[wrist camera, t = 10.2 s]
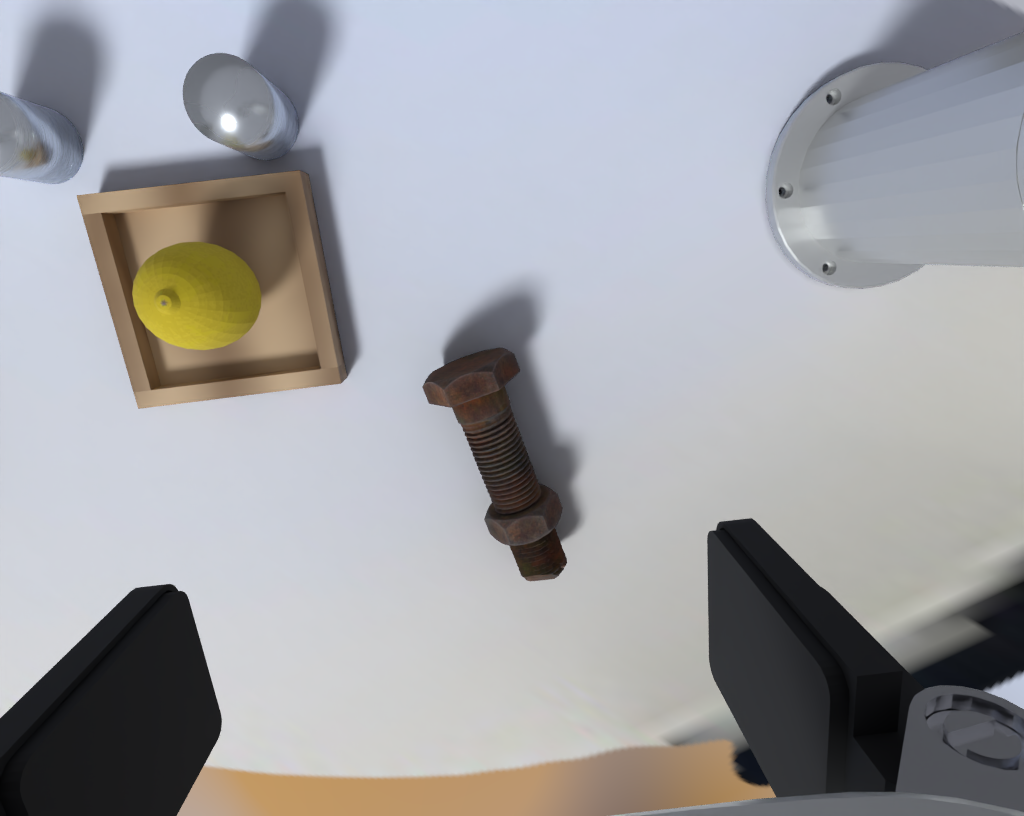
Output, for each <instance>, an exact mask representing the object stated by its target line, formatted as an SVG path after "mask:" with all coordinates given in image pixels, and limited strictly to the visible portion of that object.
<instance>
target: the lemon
mask: <svg viewBox="0 0 1024 816" xmlns="http://www.w3.org/2000/svg"><path fill="white" fill-rule="evenodd" d="M132 295H133V302H134V307H135V309H136V311H137V314H138V316H139V318H140V319H141V321H142V322H143V324H144V325H145V326H146V328H148V329H149V330H150V331H151V332H152V333H153V334H154V335H155V336H157V337H158V338H160V339H162V340H164V341H165V342H167V343H169V344H172V345H175V346H178V347H182V348H185V349H195V350H210V349H215V348H220V347H224V346H227V345H229V344H231V343H233V342H235V341H237V340H239V339H240V338H241V337H242V336H244V335H245V334H246V333H247V332H248V331H249V330H250V329H251V328H252V326H253V325H254V323H255V322H256V320H257V318H258V315H259V312H260V308H261V291H260V286H259V282H258V280H257V278H256V276H255V274H254V272H253V271H252V270H251V268H250V267H249V266H248V265H247V264H246V262H245V261H244V260H242V259H241V258H240V257H238V256H237V255H236V254H235V253H233V252H231V251H229V250H227V249H225V248H223V247H221V246H218V245H214V244H209V243H204V242H182V243H178V244H174V245H171V246H168V247H165V248H163V249H161V250H159V251H158V252H156V253H155V254H153V255H152V256H151V257H149V258H148V259H147V260H146V261H145V262H144V263H143V265H142V266H141V267H140V268H139V270H138V272H137V275H136V277H135V279H134V282H133V291H132Z"/></svg>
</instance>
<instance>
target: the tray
mask: <svg viewBox="0 0 1024 816" xmlns="http://www.w3.org/2000/svg"><path fill="white" fill-rule="evenodd" d="M77 199H78V202H79V206H80V209H81V213H82V216H83V219H84V223H85V226H86V230H87V233H88V237H89V240H90V244H91V247H92V250H93V254H94V257H95V261H96V264H97V268H98V271H99V275H100V278H101V281H102V285H103V288H104V292H105V295H106V299H107V302H108V306H109V309H110V313H111V316H112V319H113V323H114V326H115V330H116V333H117V337H118V340H119V344H120V347H121V350H122V354H123V357H124V361H125V364H126V368H127V371H128V375H129V378H130V381H131V385H132V388H133V392H134V395H135V399H136V402H137V406H138V409H140V408H148V407H156V406H164V405H172V404H180V403H188V402H196V401H204V400H212V399H220V398H228V397H236V396H244V395H252V394H260V393H268V392H276V391H284V390H292V389H300V388H308V387H317V386H325V385H333V384H341V383H342V382H343V381H344V380H345V379H346V378H347V373H346V368H345V363H344V357H343V352H342V347H341V342H340V337H339V331H338V326H337V321H336V316H335V310H334V305H333V300H332V295H331V290H330V284H329V279H328V274H327V269H326V263H325V258H324V253H323V248H322V243H321V237H320V232H319V227H318V222H317V216H316V211H315V206H314V201H313V196H312V190H311V185H310V180H309V175H308V174H307V173H304V172H302V171H300V170H297V171H288V172H280V173H271V174H262V175H253V176H244V177H235V178H227V179H218V180H209V181H200V182H191V183H183V184H174V185H165V186H156V187H147V188H138V189H130V190H121V191H112V192H103V193H94V194H85V195H77ZM182 242H204V243H209V244H214V245H218V246H221V247H223V248H225V249H227V250H229V251H231V252H233V253H235V254H236V255H237V256H238V257H240V258H241V259H242V260H244V261H245V262H246V264H247V265H248V266H249V267H250V268H251V270H252V271H253V272H254V274H255V276H256V278H257V280H258V282H259V286H260V291H261V308H260V312H259V315H258V318H257V320H256V322H255V323H254V325H253V326H252V328H251V329H250V330H249V331H248V332H247V333H246V334H245V335H244V336H242V337H241V338H240V339H239V340H237V341H235V342H233V343H231V344H229V345H227V346H224V347H220V348H215V349H210V350H195V349H185V348H182V347H178V346H175V345H172V344H169V343H167V342H165V341H164V340H162V339H160V338H158V337H157V336H155V335H154V334H153V333H152V332H151V331H150V330H149V329H148V328H146V326H145V325H144V324H143V322H142V321H141V319H140V318H139V316H138V314H137V311H136V309H135V307H134V302H133V295H132V291H133V282H134V279H135V277H136V275H137V272H138V270H139V268H140V267H141V266H142V265H143V263H144V262H145V261H146V260H147V259H148V258H149V257H151V256H152V255H153V254H155V253H156V252H158V251H159V250H161V249H163V248H165V247H168V246H171V245H174V244H178V243H182Z"/></svg>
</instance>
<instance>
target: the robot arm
mask: <svg viewBox="0 0 1024 816" xmlns="http://www.w3.org/2000/svg"><path fill="white" fill-rule="evenodd" d="M826 97H827V98H828V102H827V100H826ZM779 188H780V189H781V190H782V194H781V195H780V196H779V192H778V191H779ZM765 200H766V207H767V214H768V220H769V223H770V226H771V229H772V232H773V235H774V238H775V239H776V241H777V243H778V245H779V246H780V248H781V250H782V251H783V253H784V255H785V256H786V257H787V258H788V259H789V260H790V261H791V262H792V263H793V264H794V266H795V267H796V268H798V269H799V270H801V271H802V272H803V273H805V274H806V275H808V276H809V277H811V278H813V279H815V280H818V281H820V282H822V283H825V284H827V285H833V286H838V287H843V288H859V289H864V288H872V287H880V286H883V285H887V284H890V283H893V282H896V281H899V280H901V279H903V278H905V277H907V276H909V275H910V274H912V273H914V272H916V271H918V270H919V269H920V268H922V267H923V266H924V265H962V266H998V267H1024V32H1022V33H1019V34H1017V35H1014V36H1012V37H1009V38H1007V39H1004V40H1002V41H999V42H997V43H994V44H992V45H989V46H987V47H984V48H982V49H979V50H977V51H974V52H972V53H969V54H967V55H964V56H962V57H959V58H957V59H954V60H952V61H949V62H947V63H944V64H942V65H939V66H937V67H934V68H932V69H929V70H927V69H925V68H923V67H921V66H916V65H912V64H908V63H903V62H879V63H875V64H870V65H866V66H861V67H858V68H856V69H854V70H851V71H849V72H847V73H844V74H842V75H840V76H838V77H837V78H835V79H833V80H831V81H829V82H828V83H826V84H824V85H822V86H821V87H820V88H819V89H818V90H816V91H815V92H814V93H813V94H812V95H810V96H809V97H808V98H807V99H806V100H805V101H804V102H803V103H802V104H801V105H800V107H799V108H798V109H797V110H796V111H795V112H794V114H793V115H792V116H791V117H790V119H789V121H788V122H787V124H786V125H785V127H784V129H783V130H782V132H781V134H780V135H779V138H778V140H777V143H776V145H775V148H774V150H773V153H772V155H771V159H770V163H769V168H768V173H767V177H766V198H765ZM823 265H824V270H822V268H823ZM707 544H708V615H709V662H710V667H711V671H712V675H713V678H714V680H715V682H716V684H717V686H718V688H719V690H720V691H721V693H722V695H723V697H724V699H725V701H726V703H727V705H728V706H729V708H730V710H731V712H732V714H733V716H734V718H735V720H736V722H737V723H738V725H739V727H740V729H741V731H742V733H743V735H744V737H745V739H746V740H747V742H748V744H749V746H750V748H751V750H752V752H753V754H754V756H755V757H756V759H757V761H758V763H759V765H760V767H761V769H762V771H763V772H764V774H765V776H766V778H767V780H768V782H769V784H770V786H771V788H772V789H773V791H774V793H775V795H776V797H777V798H764V799H752V800H744V801H735V802H726V803H718V804H709V805H700V806H691V807H682V808H674V809H665V810H657V811H648V812H639V813H630V814H621V815H612V816H1024V709H1022V708H1020V707H1018V706H1017V705H1015V704H1013V703H1011V702H1009V701H1007V700H1005V699H1003V698H1000V697H997V696H995V695H992V694H989V693H987V692H984V691H980V690H976V689H971V688H966V687H962V686H936V687H931V688H926V689H924V688H923V687H922V686H921V685H920V684H919V683H918V682H917V681H916V680H915V679H914V678H913V677H912V676H911V675H910V674H909V673H908V672H907V671H906V670H905V669H904V668H903V667H902V666H901V665H900V664H899V663H898V662H897V661H896V660H895V659H894V658H893V657H892V656H891V655H890V654H889V653H888V652H887V651H886V650H885V649H884V648H883V647H882V646H881V645H880V644H879V643H878V642H877V641H876V640H875V639H874V638H873V637H872V636H871V635H870V634H869V633H868V632H867V631H866V630H865V629H864V628H863V627H862V626H861V625H860V624H859V622H858V621H857V620H856V619H855V618H854V617H853V616H852V615H851V614H850V613H849V612H848V611H847V610H846V609H845V608H844V607H843V606H842V605H841V604H840V603H839V602H838V601H837V600H836V599H835V598H834V597H833V596H832V595H831V594H830V593H829V592H827V591H826V590H825V589H823V588H822V587H820V586H819V585H818V584H817V583H816V582H815V581H814V580H813V579H812V578H811V577H810V576H809V575H808V574H807V573H806V572H805V571H804V570H803V569H802V568H801V567H800V566H799V565H798V564H797V563H796V562H795V561H794V560H793V559H792V558H791V557H790V556H789V555H788V554H787V553H786V552H785V551H784V550H783V549H782V548H781V547H780V546H779V545H778V544H777V543H776V542H775V541H774V540H773V539H772V538H771V537H770V535H769V534H768V533H767V532H766V531H765V530H764V529H763V528H762V527H761V526H760V525H759V524H758V523H757V522H756V521H755V520H753V519H752V518H751V519H741V520H732V521H723V522H719V523H718V525H717V530H716V531H710V532H709V533H708V540H707ZM221 725H222V718H221V713H220V709H219V706H218V702H217V699H216V695H215V691H214V688H213V684H212V681H211V677H210V674H209V670H208V667H207V663H206V659H205V656H204V652H203V649H202V645H201V642H200V638H199V635H198V631H197V627H196V624H195V620H194V617H193V613H192V610H191V606H190V603H189V599H188V597H187V595H186V594H185V592H183V591H178V589H177V588H176V587H175V586H174V585H171V584H166V585H157V586H148V587H140V588H135V589H134V590H132V591H131V592H130V593H129V594H128V595H127V596H126V597H125V598H124V599H123V600H122V601H120V602H119V603H118V604H117V605H116V606H115V607H114V608H113V609H112V610H111V611H110V612H109V613H108V614H107V615H106V616H105V617H104V618H103V619H102V620H101V621H100V622H99V623H98V624H97V625H96V626H95V627H94V628H93V629H92V630H91V631H90V632H89V633H88V634H87V635H86V636H85V637H84V638H82V639H81V640H80V641H79V642H78V643H77V644H76V645H75V646H74V647H73V648H72V649H71V650H70V651H69V652H68V653H67V654H66V655H65V656H64V657H63V658H62V659H61V660H60V661H59V662H58V663H57V664H56V665H55V666H54V667H53V668H52V669H51V670H50V671H49V672H48V673H47V674H45V675H44V676H43V677H42V678H41V679H40V680H39V681H38V682H37V683H36V684H35V685H34V686H33V687H32V688H31V689H30V690H29V691H28V692H27V693H26V694H25V695H24V696H23V697H22V698H21V699H20V700H19V701H18V702H17V703H16V704H15V705H14V706H13V707H12V708H11V709H10V710H9V711H7V712H6V713H5V714H4V715H3V716H2V717H1V718H0V816H177V814H178V812H179V810H180V808H181V806H182V804H183V803H184V801H185V799H186V797H187V795H188V793H189V792H190V790H191V788H192V786H193V784H194V782H195V780H196V779H197V777H198V775H199V773H200V771H201V769H202V768H203V766H204V764H205V762H206V760H207V758H208V757H209V755H210V753H211V751H212V749H213V747H214V746H215V744H216V742H217V740H218V738H219V735H220V731H221Z"/></svg>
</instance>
